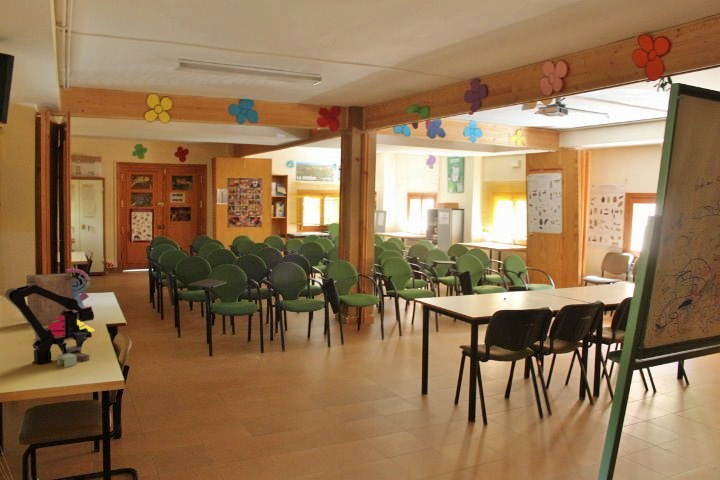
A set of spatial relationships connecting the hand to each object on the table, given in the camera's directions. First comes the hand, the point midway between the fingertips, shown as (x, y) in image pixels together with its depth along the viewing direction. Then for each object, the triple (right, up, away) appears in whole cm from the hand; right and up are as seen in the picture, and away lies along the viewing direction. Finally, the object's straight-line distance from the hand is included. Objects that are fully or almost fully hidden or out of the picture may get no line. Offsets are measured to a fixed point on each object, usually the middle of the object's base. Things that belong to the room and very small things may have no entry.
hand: (71, 354), depth 290 cm
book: (-54, +4, +84) cm, 100 cm away
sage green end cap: (+4, -2, -14) cm, 14 cm away
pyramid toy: (-27, +1, +48) cm, 55 cm away
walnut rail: (+6, -2, -4) cm, 7 cm away
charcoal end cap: (0, -1, 0) cm, 1 cm away
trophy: (-56, +7, +121) cm, 134 cm away
